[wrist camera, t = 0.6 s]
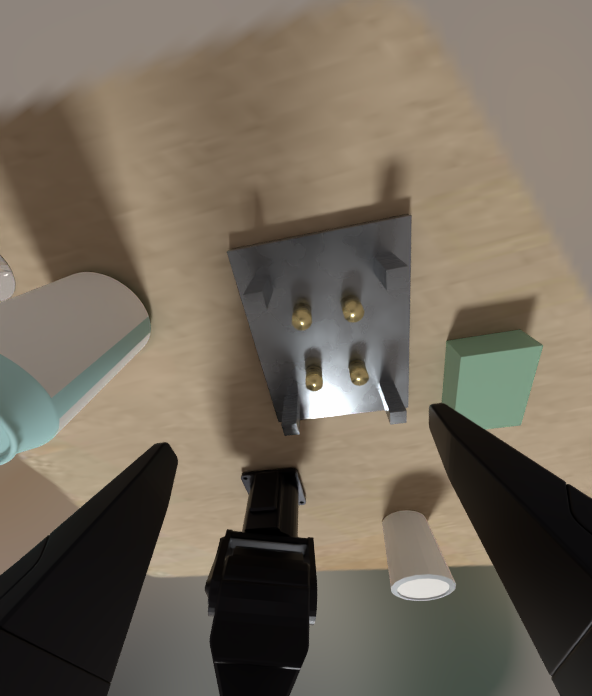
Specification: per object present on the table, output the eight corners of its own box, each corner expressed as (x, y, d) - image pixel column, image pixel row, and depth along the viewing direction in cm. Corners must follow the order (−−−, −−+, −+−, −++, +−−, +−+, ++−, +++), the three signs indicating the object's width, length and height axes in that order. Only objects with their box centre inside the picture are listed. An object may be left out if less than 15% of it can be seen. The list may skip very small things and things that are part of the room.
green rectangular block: (500, 402, 26) (520, 425, 24) (439, 410, 27) (452, 432, 24) (517, 327, 22) (543, 345, 20) (444, 338, 23) (461, 357, 20)
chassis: (405, 401, 26) (422, 438, 22) (279, 416, 27) (275, 453, 24) (407, 214, 18) (434, 222, 14) (229, 249, 19) (210, 265, 16)
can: (73, 342, 24) (-106, 465, 13) (53, 260, 20) (-212, 341, 10) (157, 357, 24) (46, 487, 14) (152, 280, 21) (-2, 376, 10)
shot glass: (435, 530, 37) (460, 598, 31) (384, 539, 39) (399, 605, 33) (425, 502, 34) (451, 571, 28) (370, 513, 35) (383, 581, 29)
